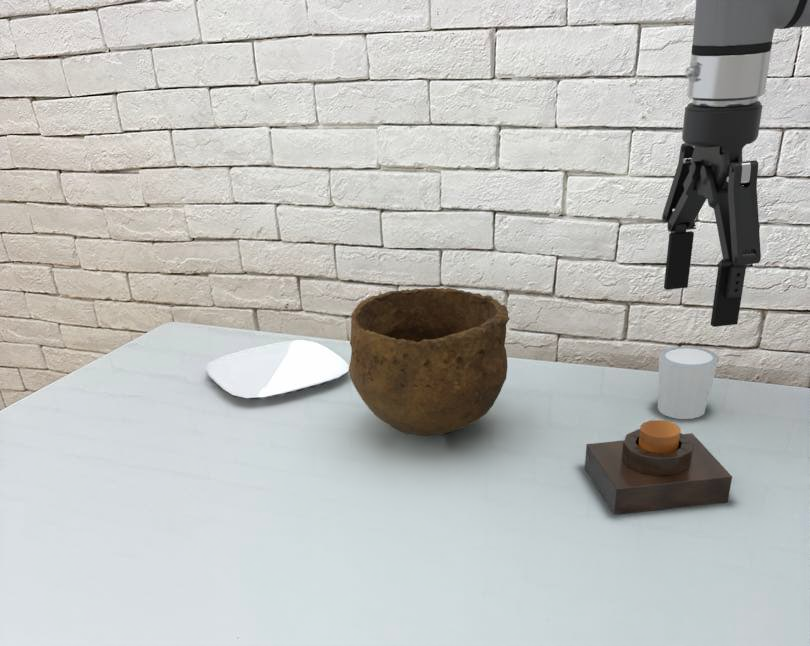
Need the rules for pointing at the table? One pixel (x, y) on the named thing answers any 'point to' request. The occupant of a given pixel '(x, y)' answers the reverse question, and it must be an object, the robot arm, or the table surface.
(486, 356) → the bowl
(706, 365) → the white cup
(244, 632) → the table surface
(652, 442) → the orange push button
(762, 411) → the table surface
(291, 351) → the plate
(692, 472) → the brown button base
